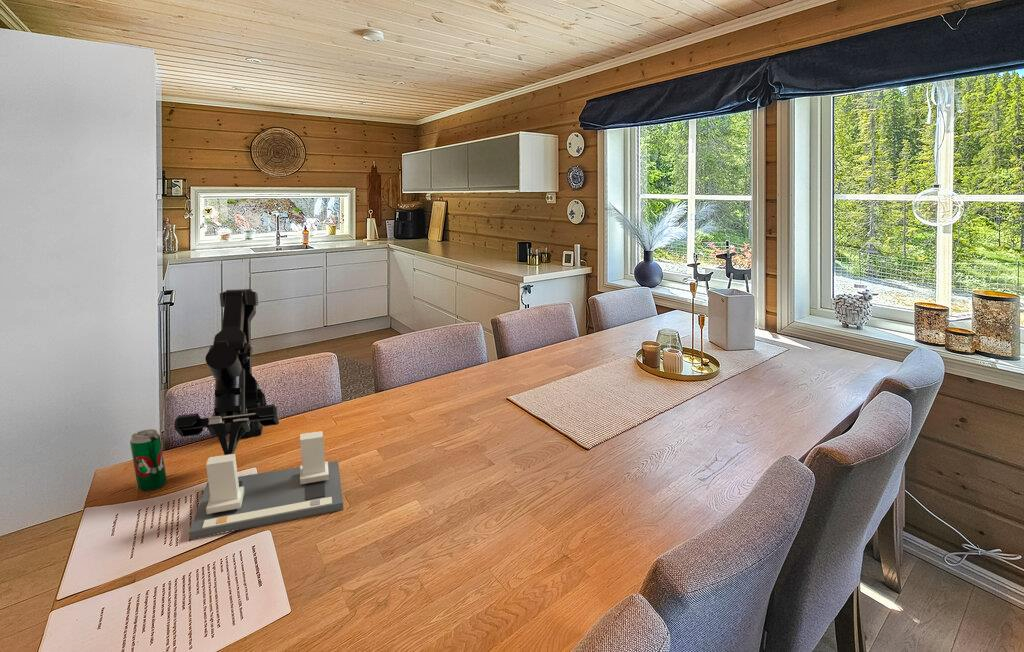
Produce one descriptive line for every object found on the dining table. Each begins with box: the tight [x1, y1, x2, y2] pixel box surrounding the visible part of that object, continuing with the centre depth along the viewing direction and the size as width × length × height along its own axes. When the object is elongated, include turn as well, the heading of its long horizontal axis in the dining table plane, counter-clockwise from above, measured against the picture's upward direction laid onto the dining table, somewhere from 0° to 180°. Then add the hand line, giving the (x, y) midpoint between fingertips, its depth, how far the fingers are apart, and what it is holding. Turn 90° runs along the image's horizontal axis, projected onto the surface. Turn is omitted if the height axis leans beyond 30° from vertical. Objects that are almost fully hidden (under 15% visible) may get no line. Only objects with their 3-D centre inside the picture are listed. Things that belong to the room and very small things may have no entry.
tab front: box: [205, 453, 244, 514], centre depth 95 cm, size 6×6×9 cm
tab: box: [299, 430, 329, 484], centre depth 105 cm, size 6×6×9 cm
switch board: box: [188, 460, 344, 540], centre depth 101 cm, size 18×26×2 cm
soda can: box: [129, 429, 168, 492], centre depth 103 cm, size 5×5×12 cm
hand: (228, 459), depth 101 cm, fingers closed
